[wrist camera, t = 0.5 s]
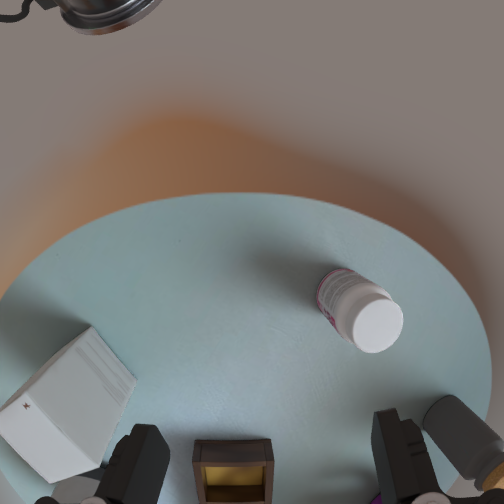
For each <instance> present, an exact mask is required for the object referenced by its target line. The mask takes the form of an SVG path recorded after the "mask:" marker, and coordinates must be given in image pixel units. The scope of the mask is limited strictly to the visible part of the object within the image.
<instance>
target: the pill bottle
mask: <svg viewBox="0 0 504 504" xmlns="http://www.w3.org/2000/svg"><path fill="white" fill-rule="evenodd" d="M317 304H318V306H319V308H320V310H321V312H322V313H323V314H324V315H325V317H326V318H327V319H328V320H329V322H330V323H331V324H332V326H333V327H334V328H335V329H336V330H337V332H338V333H339V334H340V335H341V337H342V338H344V339H345V340H346V341H348V342H350V343H353V344H355V345H356V347H358V348H359V349H360V350H362V351H364V352H367V353H377V352H380V351H383V350H385V349H387V348H388V347H390V346H391V345H392V344H393V343H394V342H395V341H396V339H397V338H398V336H399V335H400V333H401V330H402V326H403V314H402V311H401V309H400V307H399V306H398V305H397V304H396V303H395V302H394V301H393V300H392V299H391V297H390V295H389V294H388V293H387V291H386V290H384V289H383V288H382V287H380V286H378V285H377V284H375V283H373V282H371V281H370V280H368V279H366V278H365V277H363V276H361V275H360V274H358V273H357V272H355V271H353V270H350V269H337V270H334V271H332V272H330V273H329V274H328V275H326V276H325V277H324V279H323V280H322V281H321V283H320V284H319V286H318V289H317Z"/></svg>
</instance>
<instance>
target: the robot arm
mask: <svg viewBox="0 0 504 504" xmlns="http://www.w3.org/2000/svg"><path fill="white" fill-rule="evenodd" d="M32 1H33V0H24V2H23V3H22V12H21V13H19V14H17V15H0V22H6V23H11V22H17V21H20V20H22V19H23V18H25V17H26V16H27V15H28V13H29V6H30V4H31V2H32ZM35 1H36V2H37V3H38V4H39V5H40V6H41V7H42V8H43V9H44V10H47V9H50V8H53V7H56V6H59V7H60V8H61V9H62V10H63V11H64V13H65V14H66V15H71V14H76V15H78V16H80V17H82V18H86V19H99V18H104V17H108V16H111V15H114V14H117V13H119V12H121V11H123V10H125V9H127V8H129V7H131V6H132V5H134V4H135V3H136V2H138V1H139V0H35ZM371 445H372V451H373V456H374V461H375V466H376V471H377V477H378V482H379V487H380V493H381V499H382V504H504V489H501V488H493V489H490V490H487V491H486V492H484V493H483V494H482V495H481V496H480V497H469V498H468V497H467V498H454V497H450V496H448V495H446V494H445V493H444V492H443V491H442V490H441V489H440V487H439V485H438V482H437V479H436V475H435V472H434V469H433V466H432V463H431V459H430V456H429V453H428V452H427V447H426V444H425V442H424V438H423V436H422V433H421V430H420V428H419V427H418V426H417V425H416V424H415V423H414V422H413V421H412V420H411V419H407V420H403V421H400V419H399V416H398V413H397V410H396V408H391V409H386V410H381V411H376V412H374V417H373V426H372V433H371ZM169 461H170V449H169V446H168V444H167V443H166V441H165V440H164V438H163V436H162V435H161V433H160V431H159V430H158V428H157V427H156V426H155V425H149V424H135V425H134V427H133V429H132V431H131V433H130V436H129V435H125V436H124V437H123V438H122V439H121V440H120V441H119V442H118V443H117V444H116V446H115V449H114V451H113V453H112V456H111V458H110V460H109V464H108V465H107V467H106V469H105V471H104V474H103V476H102V478H101V481H100V483H99V485H98V488H97V490H96V492H95V494H94V495H93V496H92V497H87V498H85V499H83V500H82V501H81V502H80V503H79V504H157V501H158V498H159V495H160V491H161V488H162V484H163V481H164V478H165V474H166V471H167V468H168V465H169ZM35 504H60V503H59V502H58V501H56V500H55V499H54V498H52V497H49V496H45V497H41V498H40V499H38V500H37V501H36V502H35Z"/></svg>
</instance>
